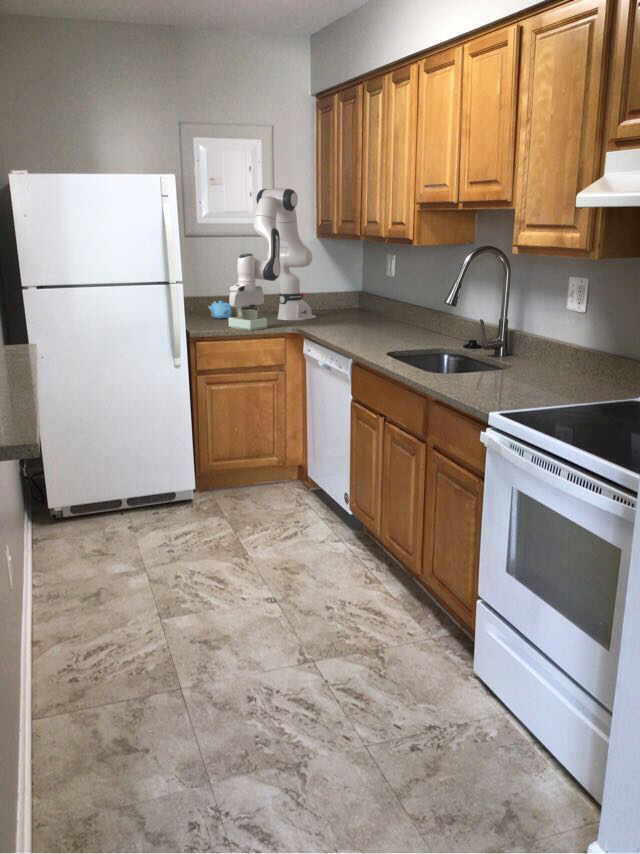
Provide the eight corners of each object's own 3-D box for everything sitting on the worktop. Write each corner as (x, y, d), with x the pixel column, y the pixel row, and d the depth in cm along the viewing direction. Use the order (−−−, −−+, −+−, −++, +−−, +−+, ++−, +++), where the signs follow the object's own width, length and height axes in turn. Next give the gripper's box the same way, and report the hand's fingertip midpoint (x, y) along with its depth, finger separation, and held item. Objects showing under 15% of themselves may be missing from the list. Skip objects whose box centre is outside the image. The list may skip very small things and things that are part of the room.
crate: (245, 325, 398) (245, 315, 397) (267, 328, 387) (266, 318, 386) (228, 327, 391) (228, 317, 390) (250, 330, 379) (250, 320, 378)
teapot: (238, 320, 421) (238, 301, 418) (215, 321, 414) (214, 303, 411) (224, 316, 436) (223, 298, 433) (201, 318, 428) (200, 300, 426)
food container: (262, 323, 392) (261, 304, 388) (259, 326, 386) (258, 307, 382) (239, 323, 394) (238, 304, 390) (236, 326, 388) (235, 306, 385)
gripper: (258, 285, 393) (258, 312, 396) (227, 287, 379) (228, 315, 382) (266, 286, 389) (267, 313, 392) (235, 288, 374) (236, 316, 378)
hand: (247, 314), depth 387 cm, fingers open, 7 cm apart
